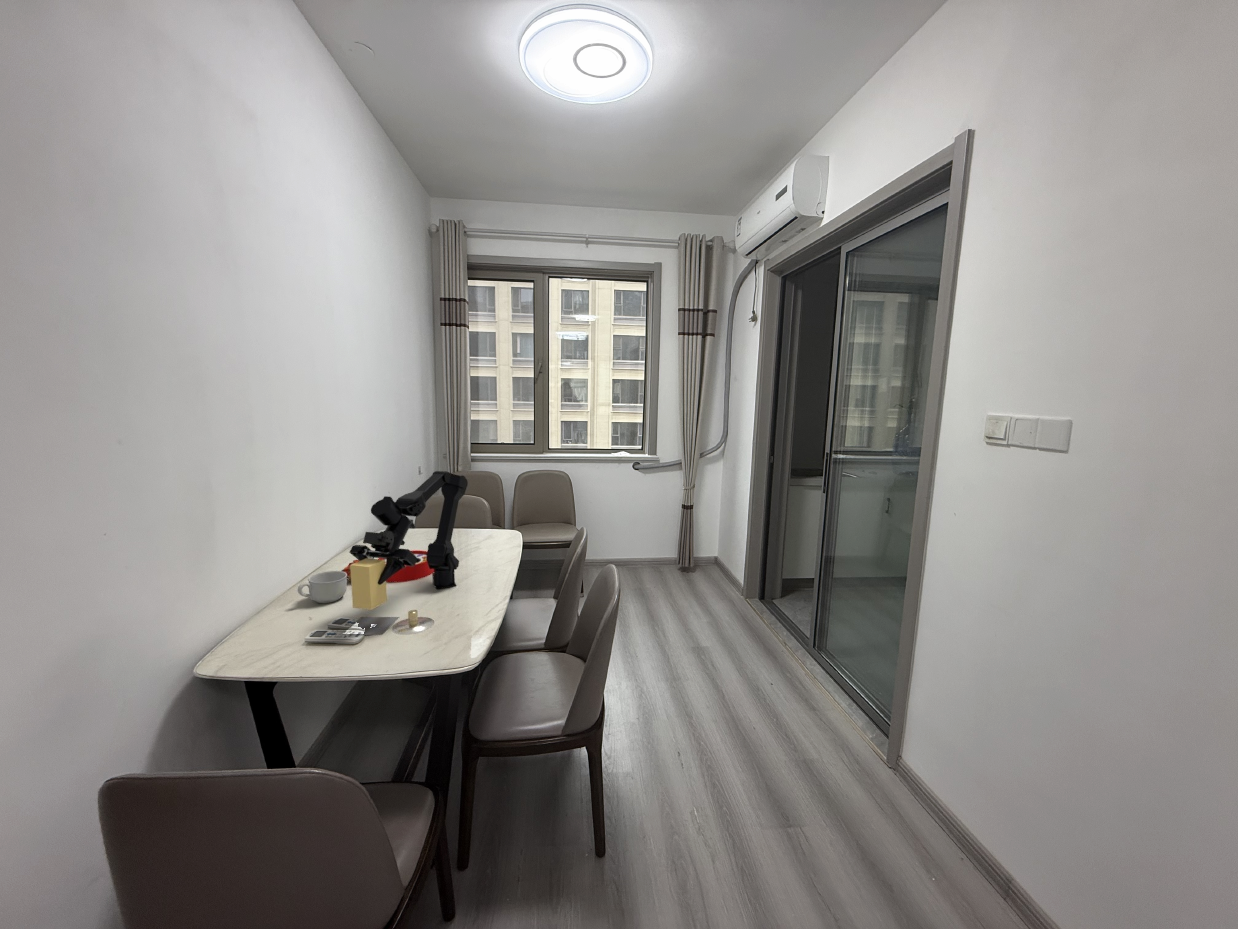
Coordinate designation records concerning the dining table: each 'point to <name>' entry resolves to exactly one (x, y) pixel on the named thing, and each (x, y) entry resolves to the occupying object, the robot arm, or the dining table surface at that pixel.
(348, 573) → the dragon fruit
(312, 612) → the dining table surface
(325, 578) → the teacup
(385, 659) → the dining table surface
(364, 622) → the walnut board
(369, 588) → the tan wooden brick
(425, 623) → the silver metal disc
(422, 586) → the dining table surface
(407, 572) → the toy clock
